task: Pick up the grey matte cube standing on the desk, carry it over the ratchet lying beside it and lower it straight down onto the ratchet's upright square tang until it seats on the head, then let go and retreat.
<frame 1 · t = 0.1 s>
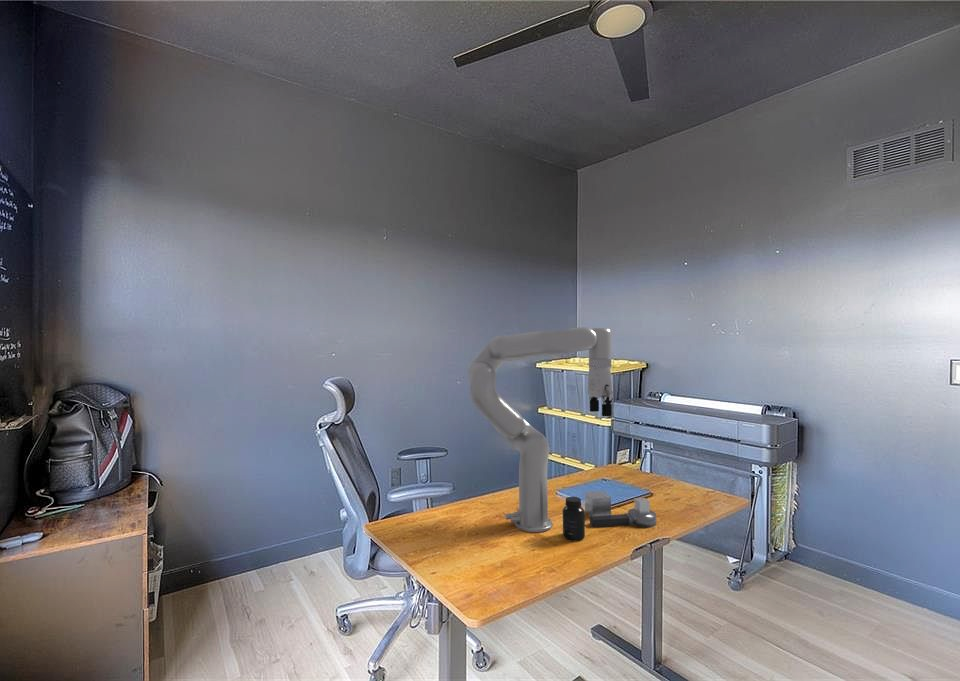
hand: (600, 413, 157), 37 cm above the table, tool pointing down, fingers open, 9 cm apart
supplement bottle: (573, 537, 144), on the table
grey matte cube: (597, 514, 162), on the table
ratchet: (642, 521, 155), on the table
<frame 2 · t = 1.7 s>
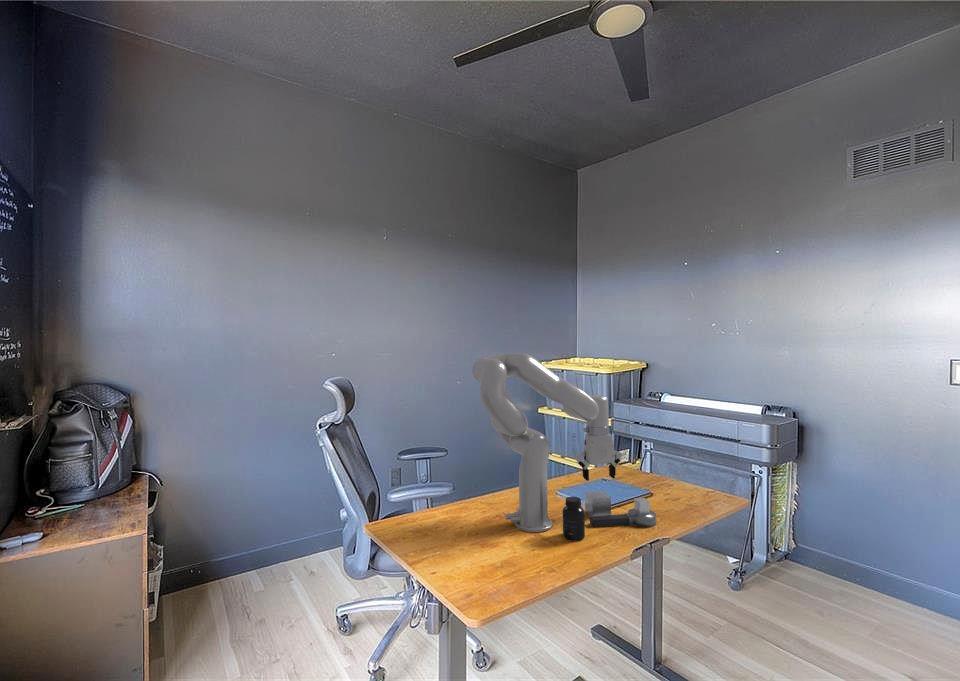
hand: (599, 478, 163), 13 cm above the table, tool pointing down, fingers open, 9 cm apart
nothing on the table moved.
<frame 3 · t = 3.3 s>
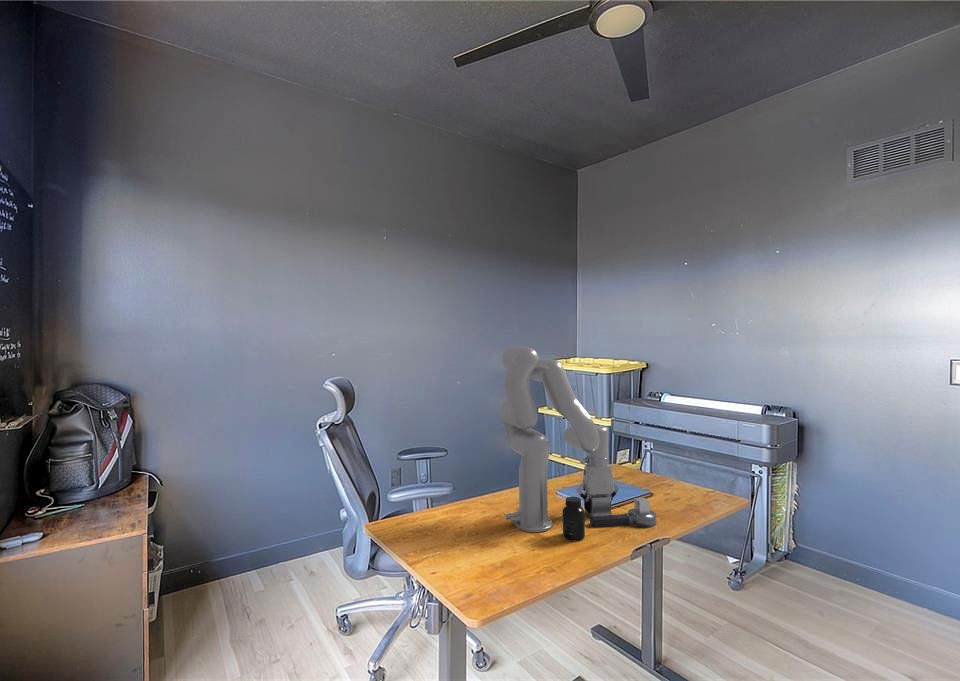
hand: (597, 510, 162), 1 cm above the table, tool pointing down, fingers closed on grey matte cube, 6 cm apart
grey matte cube: (597, 514, 162), on the table, touching gripper
everything else where it was.
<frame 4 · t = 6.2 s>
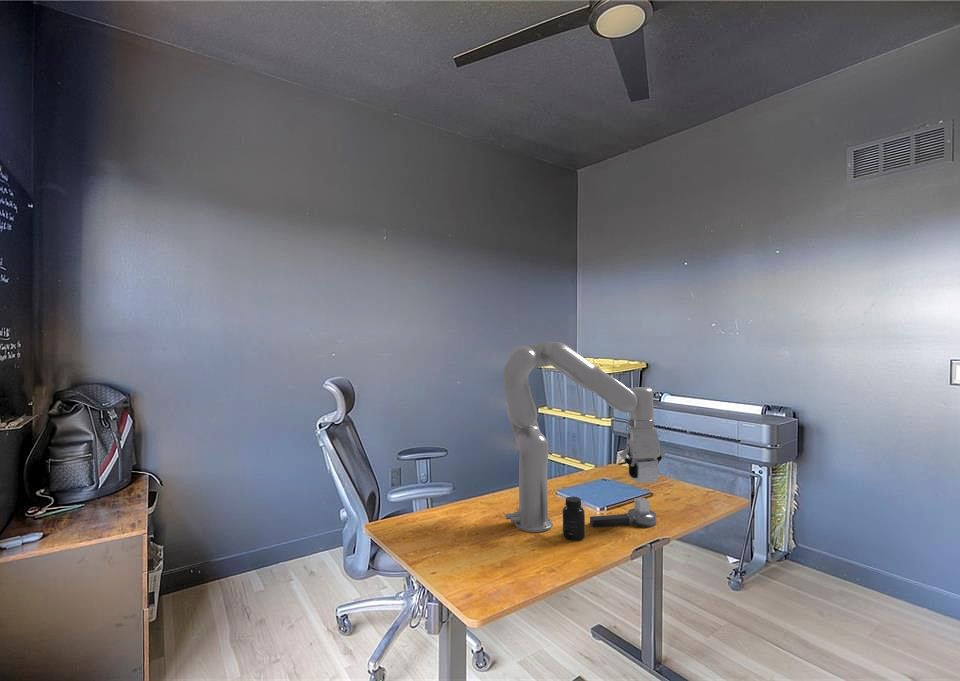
hand: (643, 475, 155), 16 cm above the table, tool pointing down, fingers closed on grey matte cube, 6 cm apart
grey matte cube: (643, 479, 155), point 14 cm above the table, touching gripper
everything else where it was.
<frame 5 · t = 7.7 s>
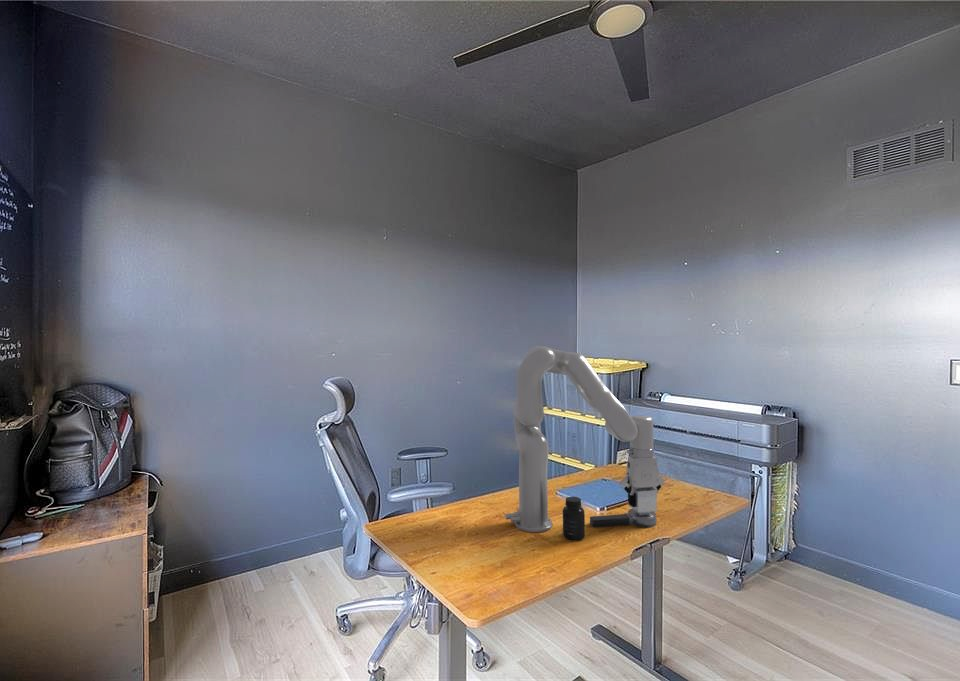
hand: (642, 504, 155), 6 cm above the table, tool pointing down, fingers closed on grey matte cube, 6 cm apart
grey matte cube: (642, 508, 155), point 5 cm above the table, touching gripper
everything else where it was.
when the fingers open (5 cm above the table, at t = 9.1 s): grey matte cube stays where it is, resting on ratchet.
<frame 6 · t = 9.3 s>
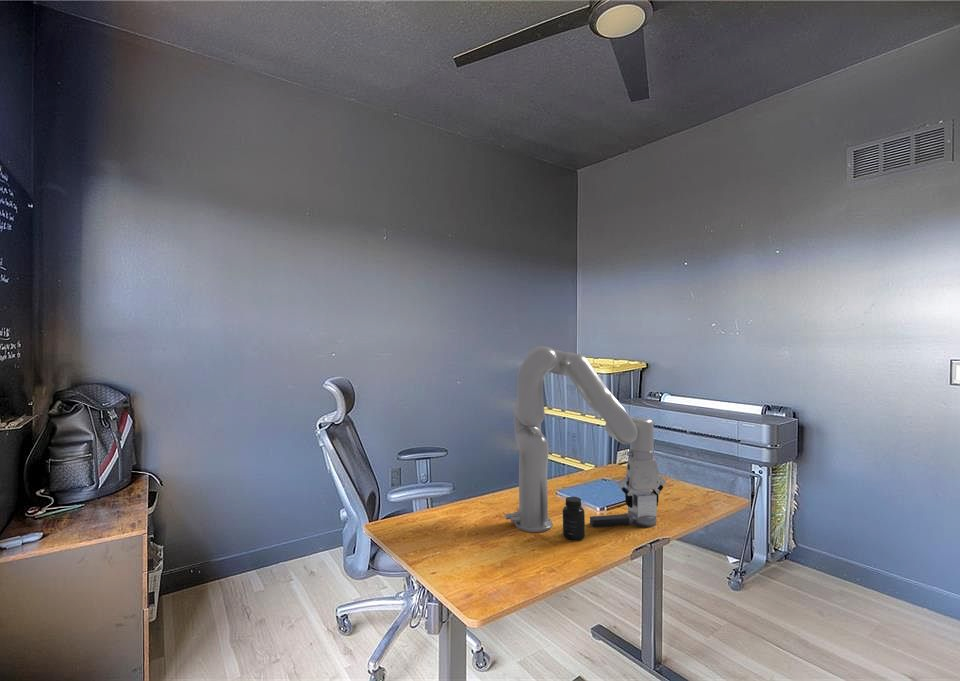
hand: (641, 505, 155), 6 cm above the table, tool pointing down, fingers open, 8 cm apart
grey matte cube: (642, 512, 156), point 3 cm above the table, touching ratchet
everything else where it was.
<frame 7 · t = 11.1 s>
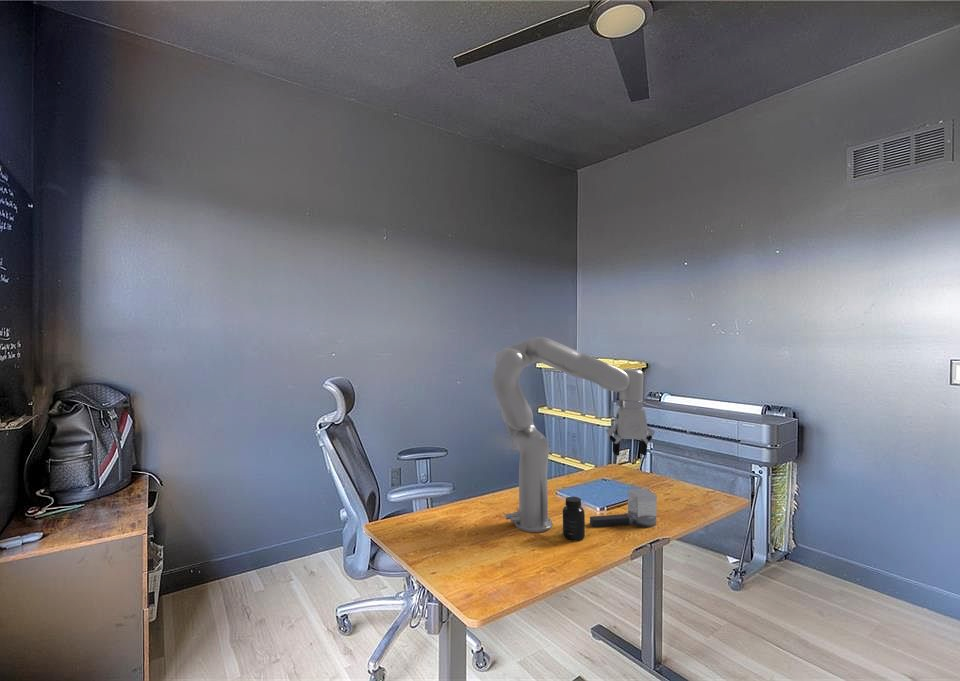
hand: (629, 454, 158), 22 cm above the table, tool pointing down, fingers open, 9 cm apart
nothing on the table moved.
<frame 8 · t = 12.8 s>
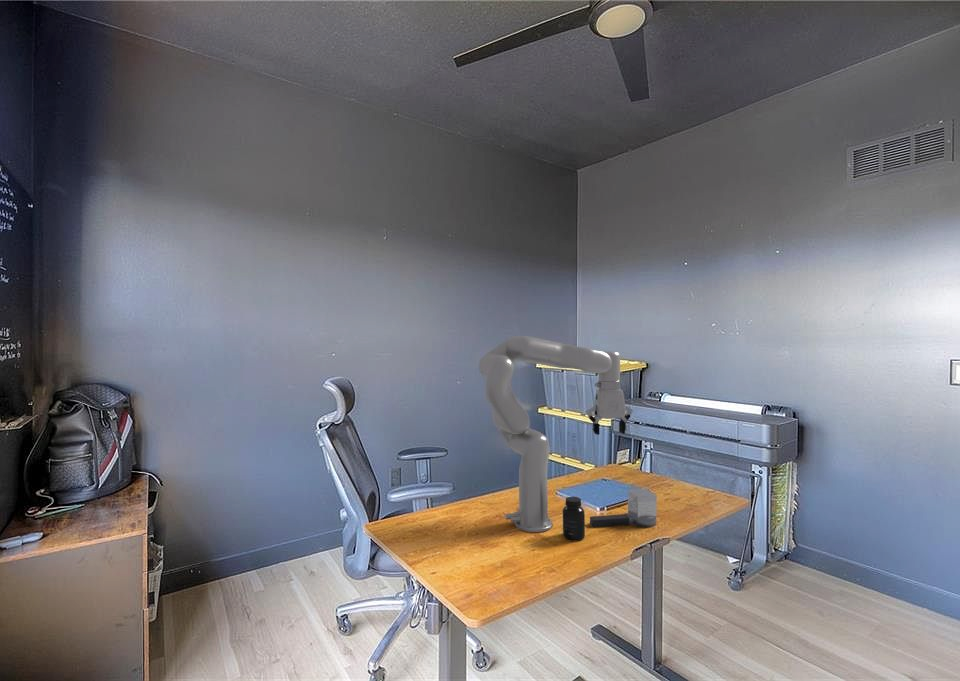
hand: (609, 433, 164), 28 cm above the table, tool pointing down, fingers open, 9 cm apart
nothing on the table moved.
at the end: grey matte cube 0.1 cm off-centre on the ratchet, point 3.0 cm above the ratchet's base; grey matte cube tilted 0°; the gripper is holding nothing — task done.
